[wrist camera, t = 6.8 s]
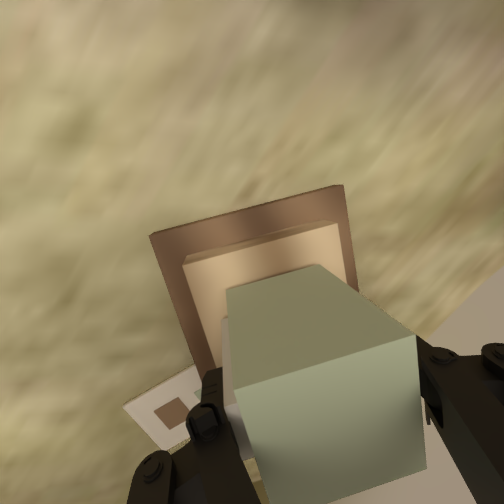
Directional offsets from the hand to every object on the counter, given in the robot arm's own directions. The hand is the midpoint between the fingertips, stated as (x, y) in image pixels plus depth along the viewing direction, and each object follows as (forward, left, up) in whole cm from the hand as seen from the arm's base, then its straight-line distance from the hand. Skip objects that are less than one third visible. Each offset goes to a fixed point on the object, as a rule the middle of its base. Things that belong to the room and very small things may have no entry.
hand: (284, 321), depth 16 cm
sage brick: (0, 0, 0) cm, 0 cm away
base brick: (0, 0, -5) cm, 5 cm away
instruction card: (-9, -8, -5) cm, 13 cm away
